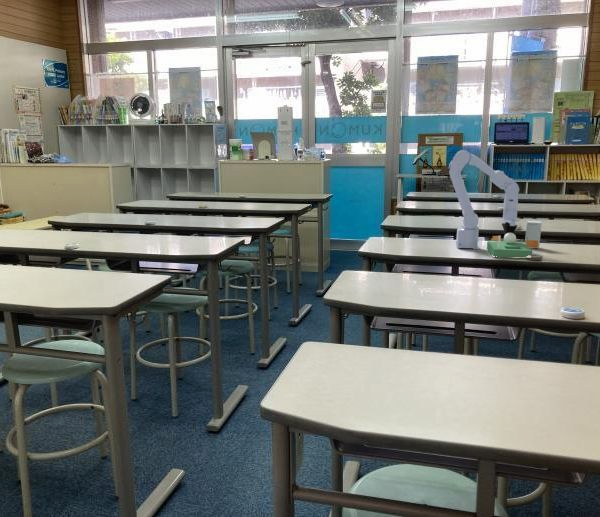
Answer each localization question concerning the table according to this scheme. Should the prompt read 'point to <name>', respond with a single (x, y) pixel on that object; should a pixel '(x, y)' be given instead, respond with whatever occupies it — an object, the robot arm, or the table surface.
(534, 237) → the skincare box
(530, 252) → the green
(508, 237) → the ball
